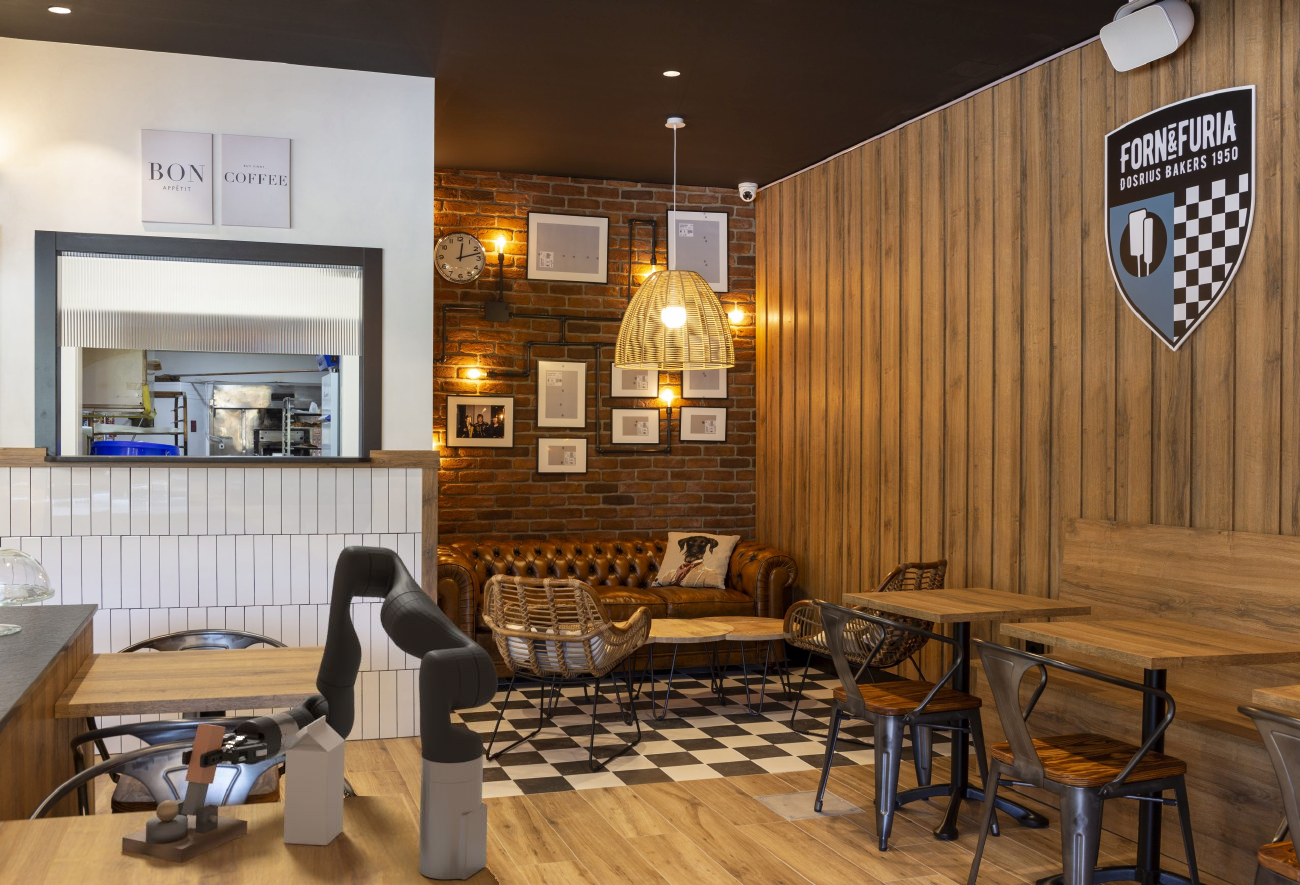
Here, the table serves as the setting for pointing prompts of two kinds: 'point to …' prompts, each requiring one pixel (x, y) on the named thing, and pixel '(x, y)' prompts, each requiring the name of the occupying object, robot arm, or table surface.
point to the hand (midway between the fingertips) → (193, 759)
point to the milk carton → (314, 785)
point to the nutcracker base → (189, 842)
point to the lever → (196, 775)
